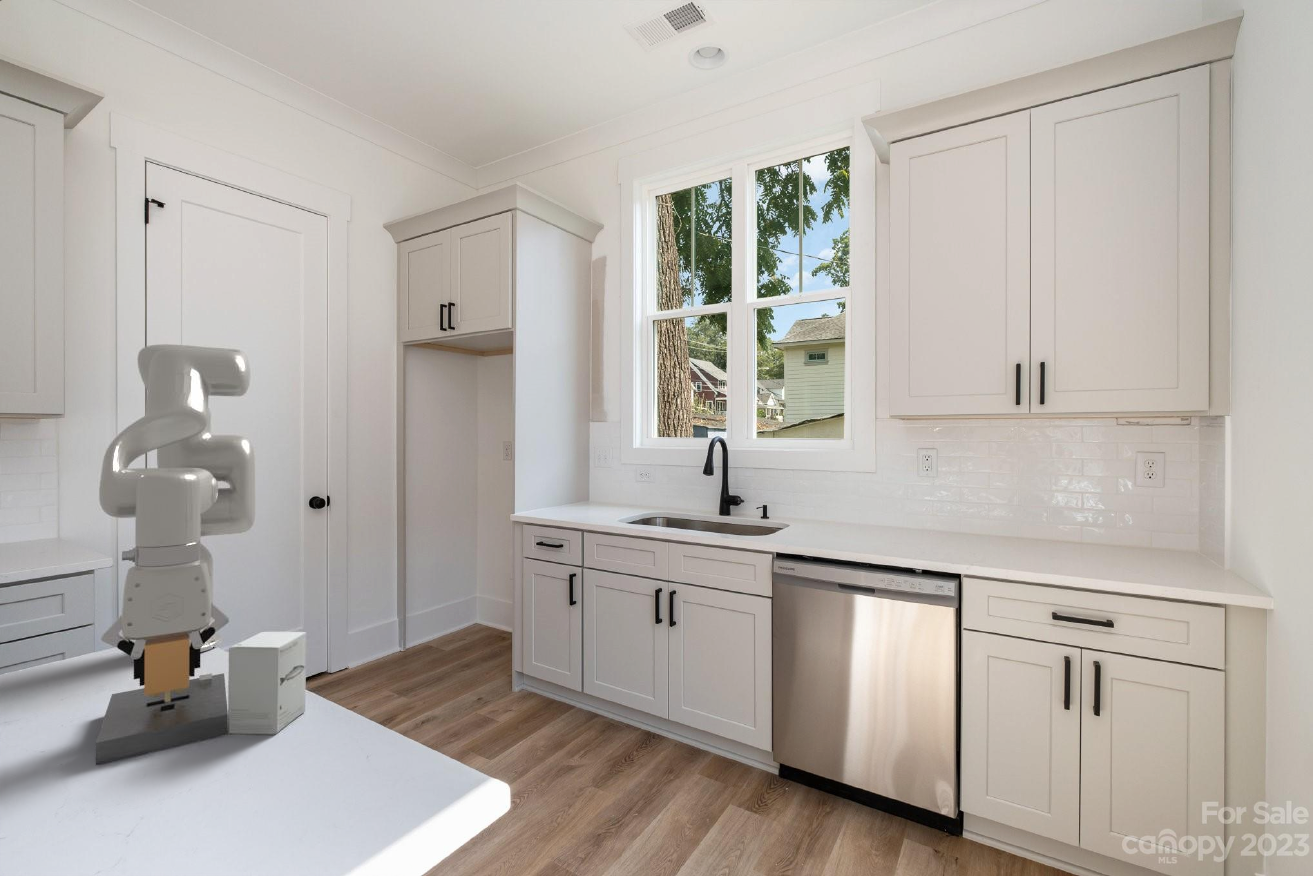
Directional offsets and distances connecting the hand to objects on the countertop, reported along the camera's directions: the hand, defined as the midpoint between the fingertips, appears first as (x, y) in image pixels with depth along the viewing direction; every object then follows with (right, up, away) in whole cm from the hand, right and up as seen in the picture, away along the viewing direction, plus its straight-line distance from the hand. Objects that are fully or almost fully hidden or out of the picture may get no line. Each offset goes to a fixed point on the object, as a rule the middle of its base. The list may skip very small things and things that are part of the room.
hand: (168, 676), depth 90 cm
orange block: (0, -3, 0) cm, 3 cm away
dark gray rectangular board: (0, -7, 0) cm, 7 cm away
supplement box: (+14, -7, +1) cm, 16 cm away
